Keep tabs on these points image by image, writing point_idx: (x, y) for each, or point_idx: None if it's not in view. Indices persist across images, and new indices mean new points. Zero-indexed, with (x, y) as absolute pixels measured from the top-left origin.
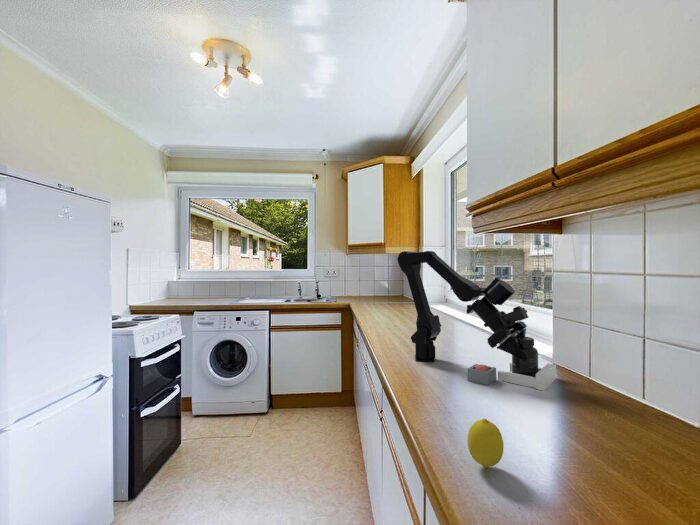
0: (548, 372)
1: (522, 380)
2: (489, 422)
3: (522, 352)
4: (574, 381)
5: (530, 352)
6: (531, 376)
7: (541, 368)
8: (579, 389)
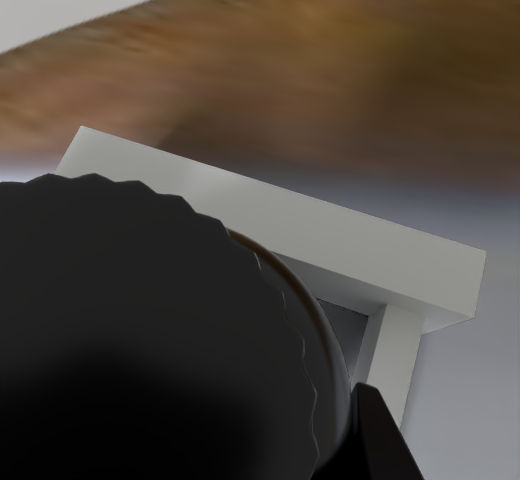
0: (333, 208)
1: None
2: None
3: (416, 470)
4: (156, 94)
5: (330, 327)
6: (374, 354)
7: None
8: (306, 93)
